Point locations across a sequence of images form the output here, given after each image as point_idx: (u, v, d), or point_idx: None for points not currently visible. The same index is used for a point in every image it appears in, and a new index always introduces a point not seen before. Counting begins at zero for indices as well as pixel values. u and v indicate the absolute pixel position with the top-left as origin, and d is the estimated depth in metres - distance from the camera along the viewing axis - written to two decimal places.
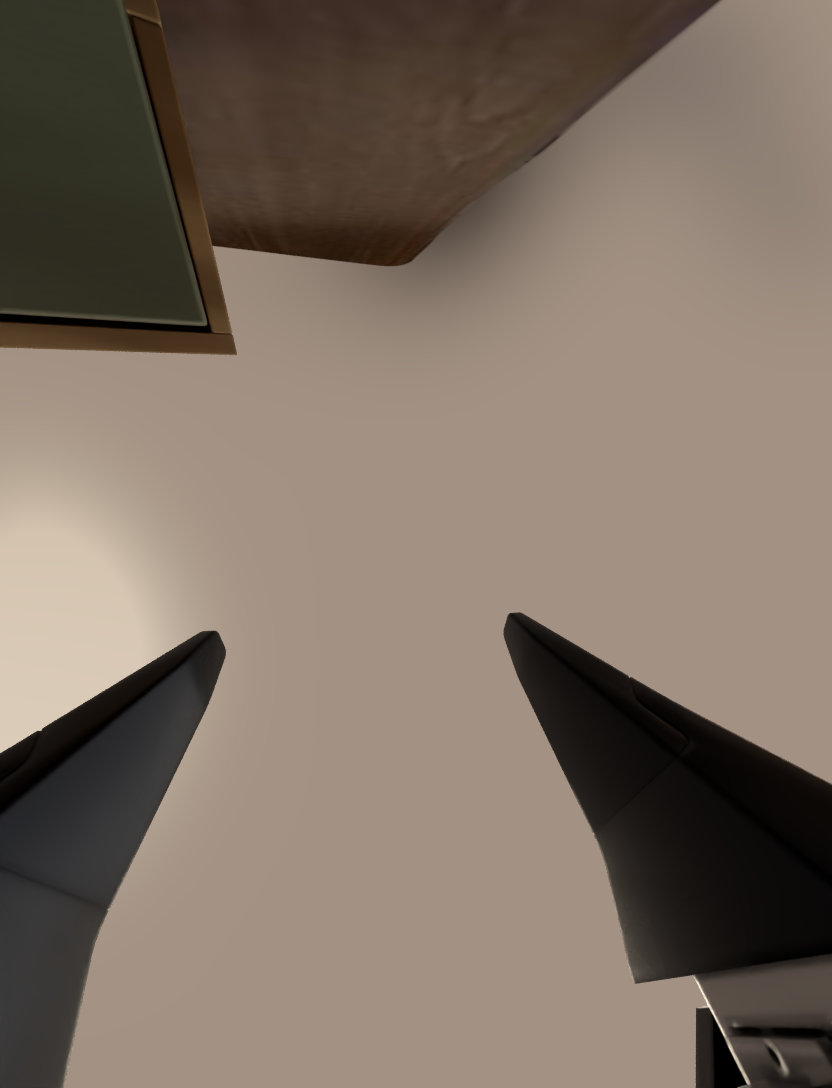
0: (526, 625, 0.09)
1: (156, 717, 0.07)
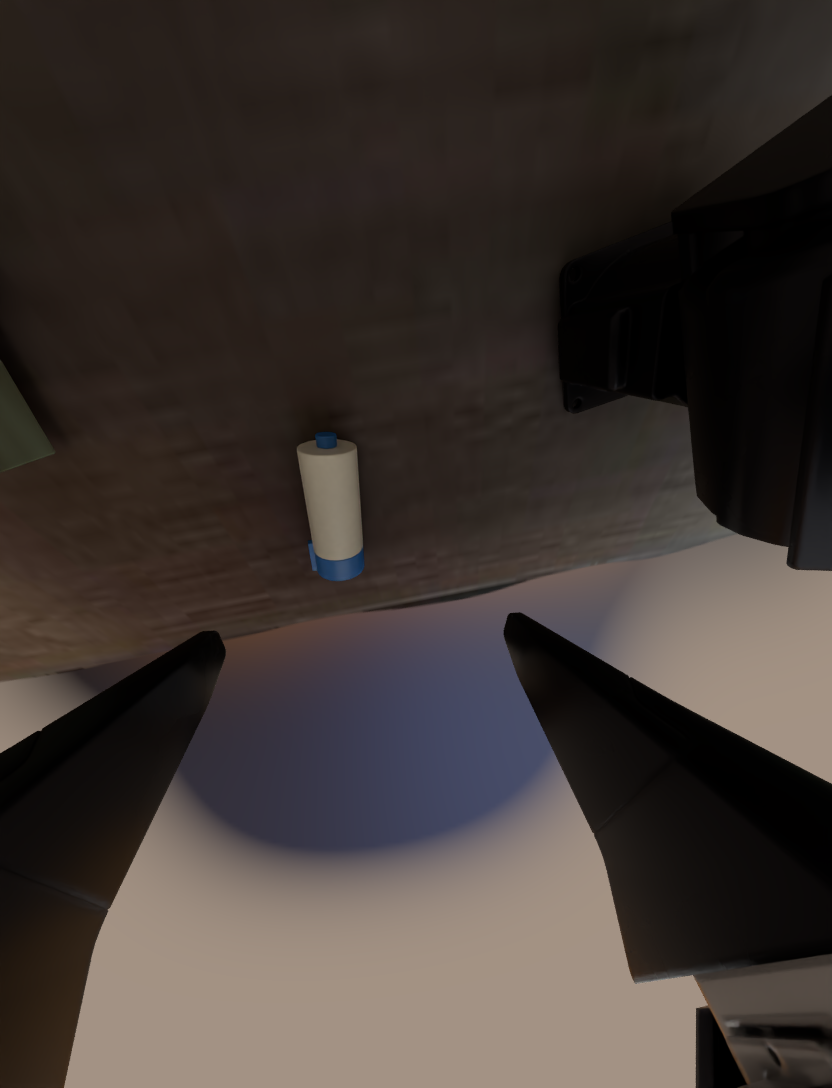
0: (526, 625, 0.09)
1: (156, 717, 0.07)
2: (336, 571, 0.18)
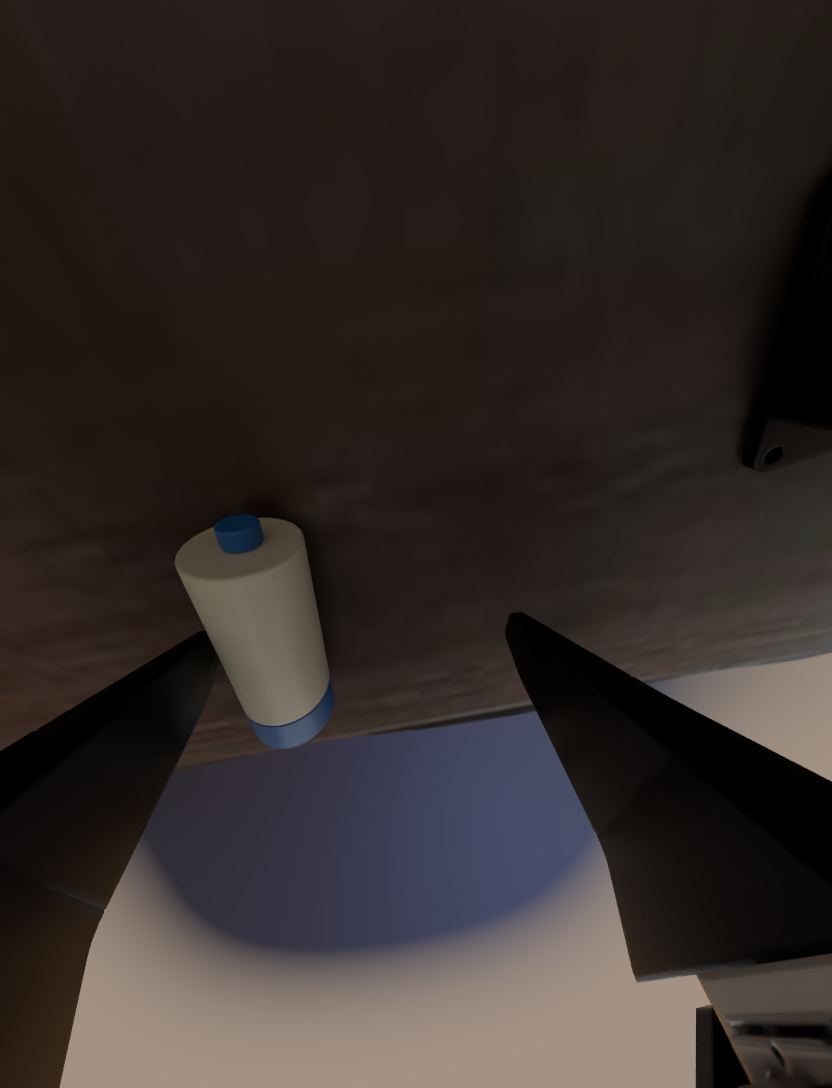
0: (528, 625, 0.09)
1: (153, 717, 0.07)
2: None
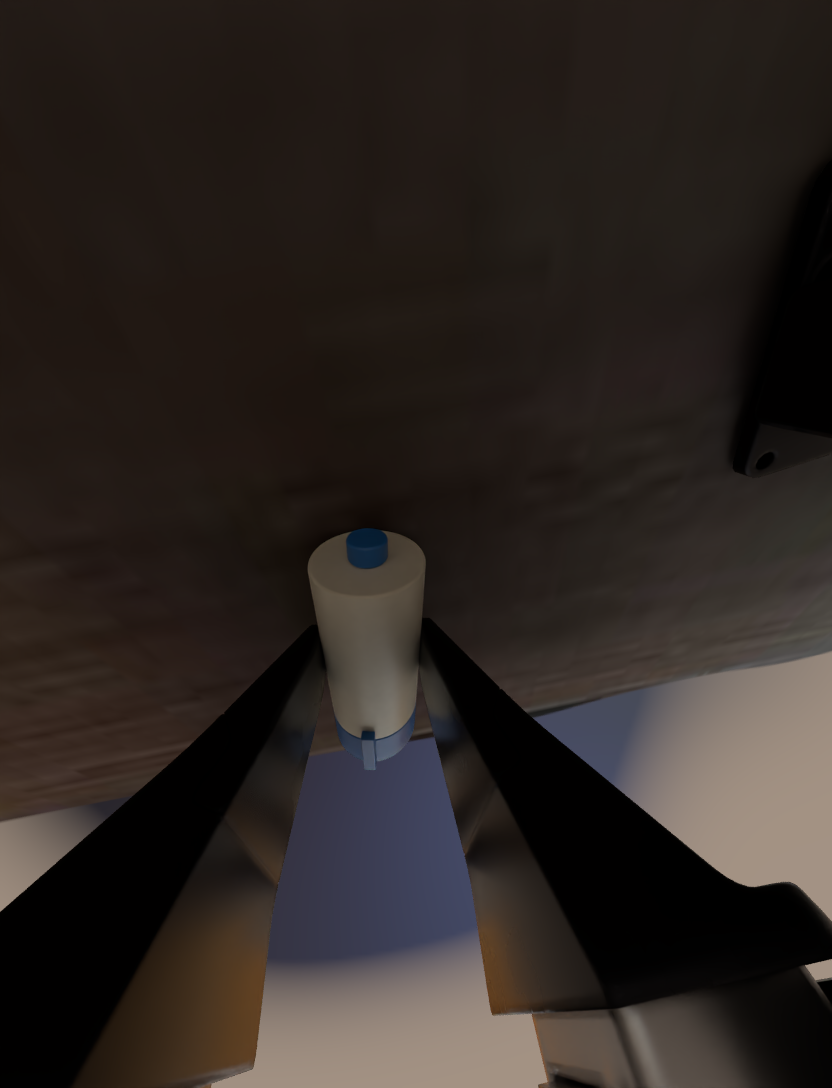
0: (426, 632, 0.09)
1: (302, 704, 0.07)
2: (414, 717, 0.11)
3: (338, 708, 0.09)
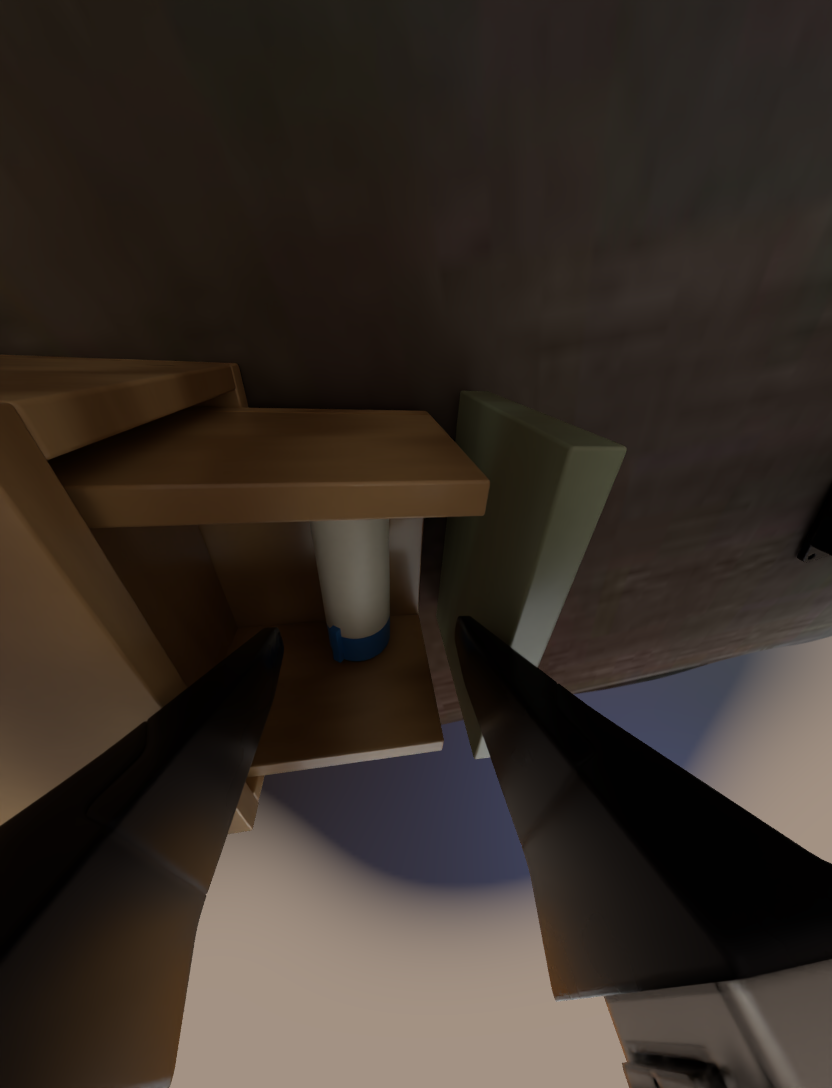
0: (470, 629, 0.09)
1: (240, 709, 0.07)
2: (381, 641, 0.14)
3: (323, 603, 0.13)
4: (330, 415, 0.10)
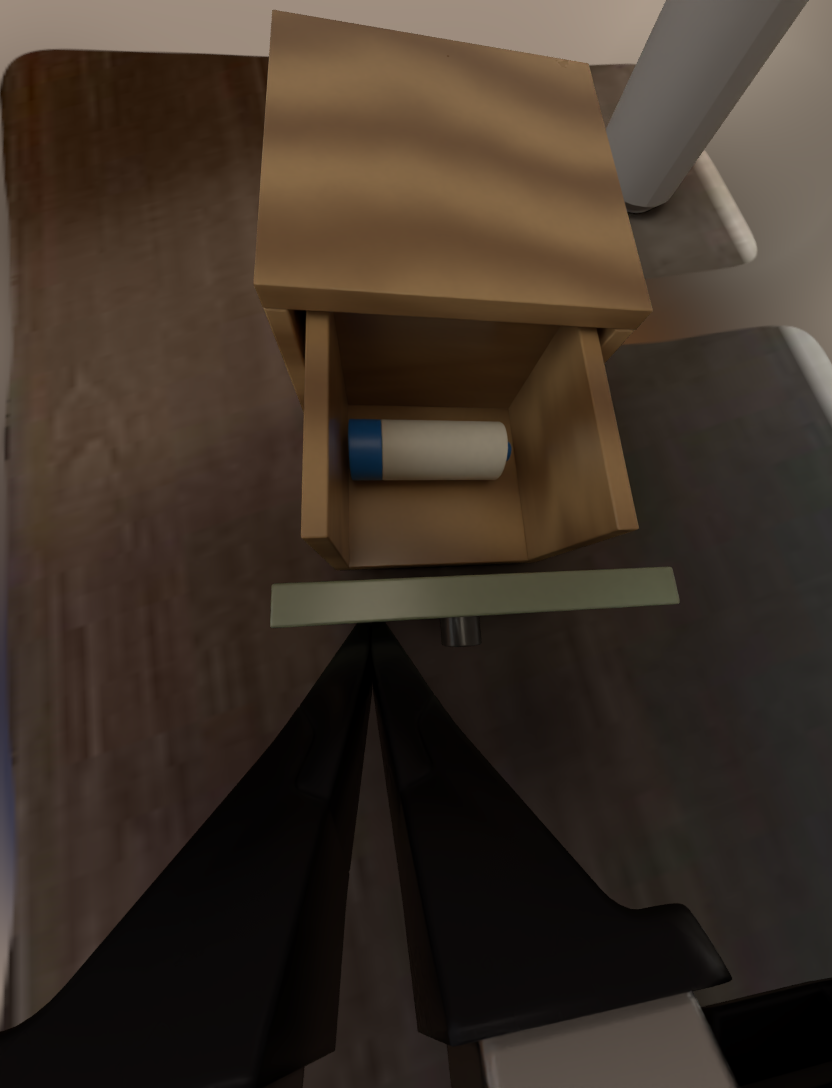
0: (375, 635, 0.09)
1: (363, 698, 0.07)
2: (364, 419, 0.15)
3: None
4: None
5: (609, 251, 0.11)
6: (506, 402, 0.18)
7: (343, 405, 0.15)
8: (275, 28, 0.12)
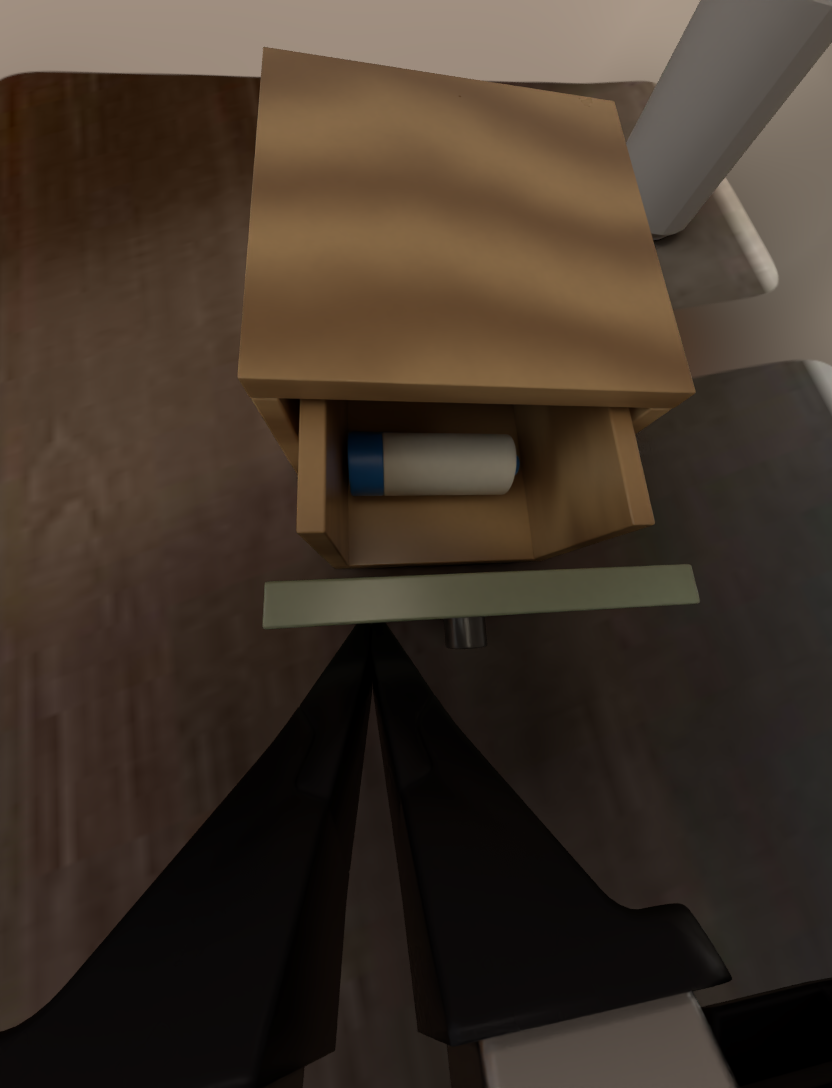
0: (375, 635, 0.09)
1: (363, 698, 0.07)
2: (364, 442, 0.13)
3: None
4: None
5: (644, 322, 0.10)
6: None
7: None
8: (266, 68, 0.11)
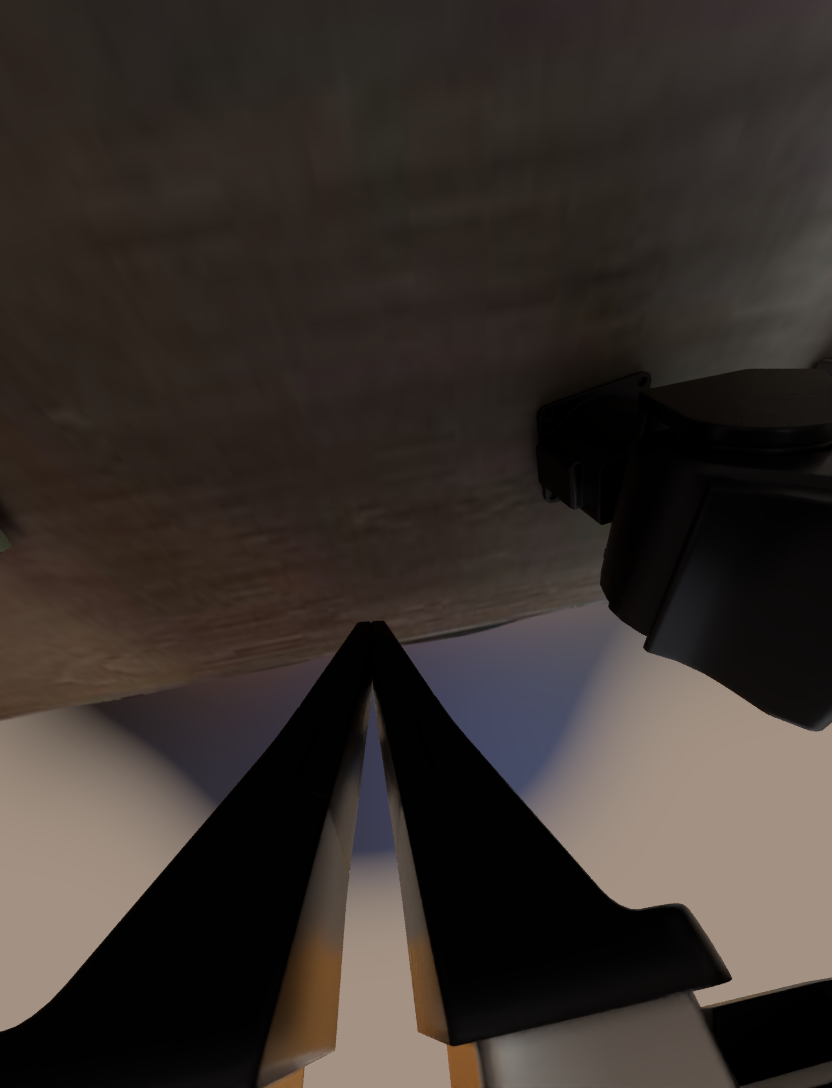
0: (375, 635, 0.09)
1: (363, 698, 0.07)
2: None
3: None
4: None
5: None
6: None
7: None
8: None
